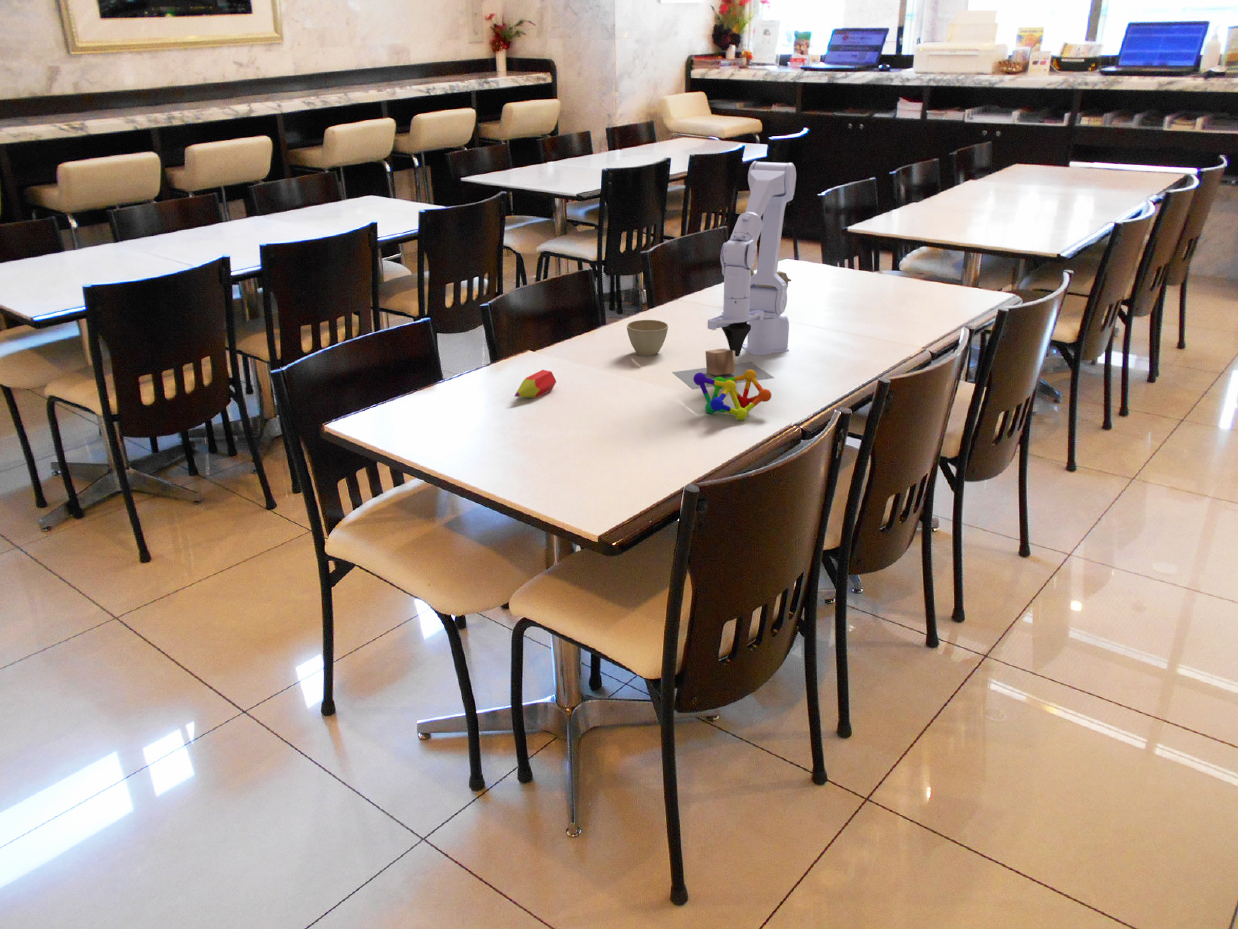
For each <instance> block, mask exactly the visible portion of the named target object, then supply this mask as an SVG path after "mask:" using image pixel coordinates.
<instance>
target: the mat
mask: <svg viewBox="0 0 1238 929" xmlns="http://www.w3.org/2000/svg"><path fill="white" fill-rule="evenodd" d="M749 369H751V370H754V371H755V372H756V375H757V377H756V380H757V381H761V380H768V379H775V377H774V376H773V375H772V374H770V373H768V372H766V370H764V369H762V368H761V367H759V366H758V365H756V364H755V363H753V361H745V362H739V363H736V373H730V374H723V375H717V376H716V375H713V374H710V373H707V367H702V368H693V369H687V370H678V371H672V374H673V375H674V376H676V377H677V378H678V379H680V380H681V382H683V383H684V384H686V385H687V386H688V387H689V388H691V389H692V390H697V389H701V387H700V385H697V384H695V382H694V376H695V374H697V373H699V372H700V373H703V374H705V376H706V378H710V379H715V378H716V377H722V378H724V379H728V378H732V377H736V376H740V375H744V373H745V371H747V370H749ZM735 383H736V384H739V383H746V380H741V381H736V382H735ZM704 384H705V386H706V388H711V387H714V386H713V385H712V384H708V383H704Z"/></svg>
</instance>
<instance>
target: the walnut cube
mask: <svg viewBox="0 0 1238 929" xmlns="http://www.w3.org/2000/svg"><path fill="white" fill-rule="evenodd" d="M705 362H706V367H705V368H707V373H710V374H713V375H716V376H717V375H723V374H730V373H736V364H737V362H736V356H735V351H734V350H730V348H726V347H725V348H717V349H712V350H711V349H709V350H705Z"/></svg>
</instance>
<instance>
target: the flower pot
mask: <svg viewBox="0 0 1238 929" xmlns="http://www.w3.org/2000/svg"><path fill="white" fill-rule="evenodd" d="M668 328H669V324H668V323H666V322H665V321H661V320H658V319H657V320H656V319H639V320H638V319H637V320H634V321H633V320H632V321H630V322H628V323H627V324H626V331H627V334H628V338H629V342H630V344H631V347H633V350H634V351H635V353H636V354H637V355H638V356H641V357H642V356H644V357H646V356H647V357H648V356H649V357H650V356H651V357H652V356H655V355H657V354H658V353H659V352H660V351H661V349H662V347H663V345H664V342H665V340H666V337H667V334H668V330H669V329H668Z"/></svg>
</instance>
